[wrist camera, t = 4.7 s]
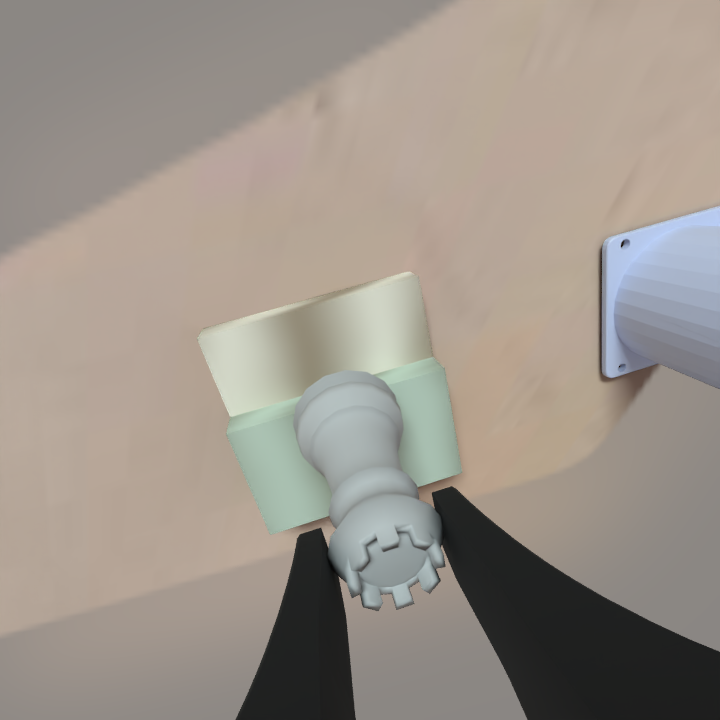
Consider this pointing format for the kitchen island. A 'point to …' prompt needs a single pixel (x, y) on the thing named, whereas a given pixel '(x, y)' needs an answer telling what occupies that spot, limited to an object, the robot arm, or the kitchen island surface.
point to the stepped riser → (309, 364)
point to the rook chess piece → (369, 489)
